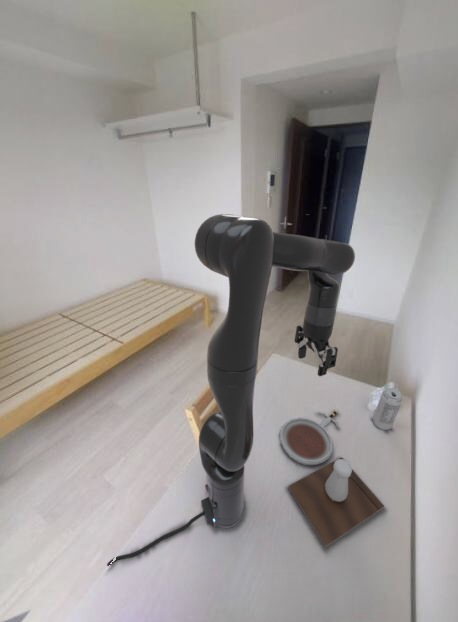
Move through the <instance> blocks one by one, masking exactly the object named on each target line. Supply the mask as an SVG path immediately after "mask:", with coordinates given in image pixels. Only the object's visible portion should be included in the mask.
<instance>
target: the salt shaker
mask: <svg viewBox="0 0 458 622" xmlns="http://www.w3.org/2000/svg"><path fill="white" fill-rule="evenodd" d="M343 459H344V458H343ZM343 459H339V458H338V460H337V459H336V460H335V463H334V466H333V467H334V471H333V472H332V474H331V475H330V476H329V478H328V479H327V481H326V484H325V489H326V493H327V495H328V496H329V497H330V499H331V500H332V501H336V502H341V501H343V500H345V499H346V498H347V495H348V477H350V475H351V473H352V469H353V468H352V465H351V464H350V463H349V461H347V460H345V459H344V460H343Z"/></svg>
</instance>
